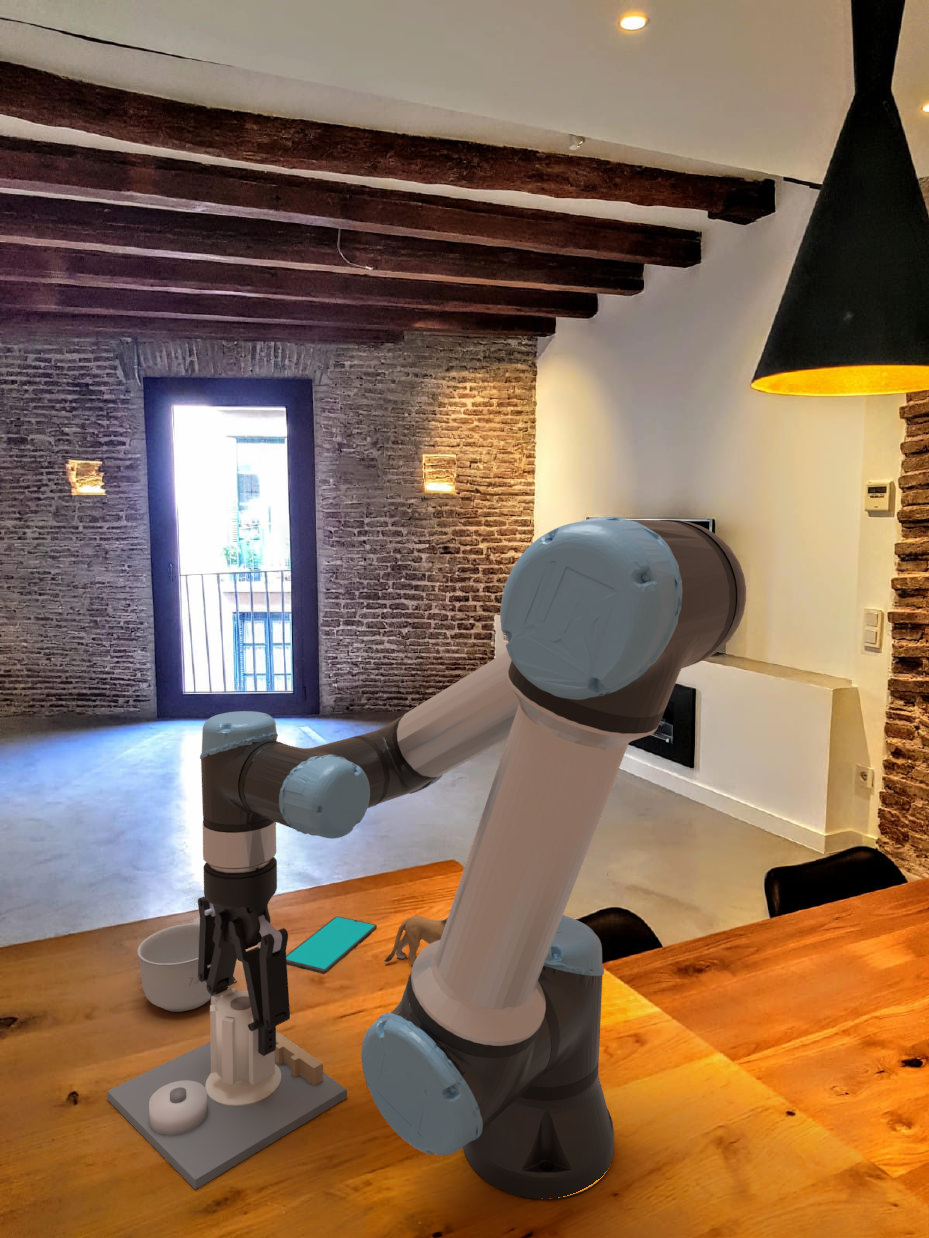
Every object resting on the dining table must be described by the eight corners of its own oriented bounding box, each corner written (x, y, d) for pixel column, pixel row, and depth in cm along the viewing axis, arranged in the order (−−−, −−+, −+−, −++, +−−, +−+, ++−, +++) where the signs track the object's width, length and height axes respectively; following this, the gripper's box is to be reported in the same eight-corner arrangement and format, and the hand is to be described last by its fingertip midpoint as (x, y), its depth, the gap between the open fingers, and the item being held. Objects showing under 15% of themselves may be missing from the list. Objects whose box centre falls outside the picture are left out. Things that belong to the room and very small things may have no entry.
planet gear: (284, 1065, 95) (284, 1002, 94) (233, 1092, 90) (233, 1026, 89) (250, 1039, 99) (249, 979, 98) (200, 1063, 94) (199, 1001, 94)
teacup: (201, 1027, 106) (200, 965, 105) (121, 1016, 108) (119, 955, 107) (251, 970, 120) (250, 914, 119) (179, 961, 122) (178, 906, 121)
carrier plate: (346, 1097, 94) (346, 1066, 93) (195, 1189, 81) (194, 1153, 80) (252, 1029, 106) (252, 1001, 106) (107, 1099, 93) (106, 1068, 92)
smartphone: (280, 959, 122) (336, 915, 136) (280, 965, 122) (336, 920, 136) (325, 971, 119) (378, 924, 133) (325, 977, 119) (378, 930, 133)
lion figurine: (485, 951, 126) (486, 892, 125) (490, 970, 121) (492, 908, 120) (383, 956, 124) (383, 895, 123) (384, 975, 119) (385, 912, 118)
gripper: (326, 876, 88) (326, 1087, 91) (221, 826, 101) (224, 1012, 104) (263, 899, 82) (265, 1123, 85) (161, 843, 96) (165, 1038, 98)
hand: (242, 1061), depth 94 cm, fingers closed on planet gear, 7 cm apart
